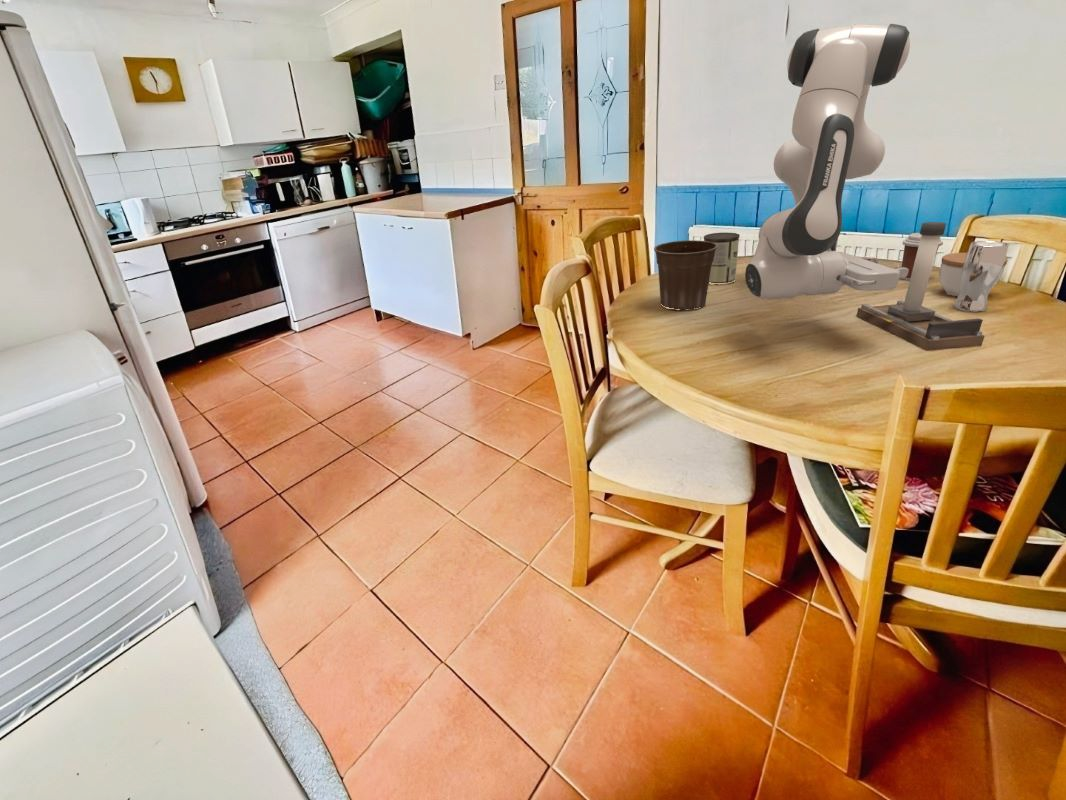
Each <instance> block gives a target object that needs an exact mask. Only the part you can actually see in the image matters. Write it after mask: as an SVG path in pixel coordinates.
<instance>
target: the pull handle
mask: <svg viewBox="0 0 1066 800" xmlns="http://www.w3.org/2000/svg"><path fill="white" fill-rule="evenodd" d="M946 227H947V223H946V222H940V221H929V222H927V221H925V222H923V223H921V227H920V231H919V233H920V234H921V239H920V243H919V247H918V251H917V255H916V259H915V263H914V267H913V270H912V274H911V278H910V280H909V282H908V287H907V291H906V294H905V299H904V305H896V306H889V308H888V312H887V313H888V314H890V315H892V316H894V317H897V318H899V319H901V320H903V321H906V322H911V321H921V320H931V319H933V318H934V315H935V314H936V311H935V310H933V309H930V308H928V307H925V306H924V305H923V302H924V299H925V294H926V290H927V288H928V284H929V279H930V276H931V274H932V270H933V266H934V263H935V262H934V261H935V258H936V256H935V255H937V253H936V251H937V252H938V250H937V248H938V244H939V240H940V239H941V237H942V235H944V234H945V230H946ZM938 249H939V248H938ZM922 305H923V306H922Z"/></svg>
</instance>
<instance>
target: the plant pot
mask: <svg viewBox="0 0 1066 800" xmlns="http://www.w3.org/2000/svg"><path fill="white" fill-rule="evenodd" d="M717 247H718V245H717V244H716V243H713V242H708V241H704V240H696V239H695V240H694V239H693V240H692V239H691V240H686V239H685V240H676V241H675V240H674V241H667V242H664V243H660V244H657V245H656V246H654V248H653V251H654V252H655V256H656V257H655V258H656V264H657V269H658V270H657V271H658V282H659V297H660V298H659V301H660V305H661V304H662V305H663V306H665V307H669V308H674V309H681V310H685V309H694V308H699V307H701V308H703V307H705V306H706V303H707V297H708V290H709V278H710V271H711V265H712V262H713V261H714V255H715V250H716V249H717ZM702 306H703V307H702ZM699 309H700V308H699Z"/></svg>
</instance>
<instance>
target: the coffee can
mask: <svg viewBox="0 0 1066 800" xmlns="http://www.w3.org/2000/svg"><path fill="white" fill-rule="evenodd" d="M703 241H708V242H713V243H716V244H717V245H718V247H717V249H716V250H715V255H714V261H713V262H712V265H711V271H710V278H709V282H711V283H728V282H732V281H734V280H735V281H736V273H737V263H738V252H739V241H740V234H738V233H735V232H712V233H708V234H705V235H704V236H703Z"/></svg>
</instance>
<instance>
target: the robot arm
mask: <svg viewBox="0 0 1066 800" xmlns="http://www.w3.org/2000/svg"><path fill="white" fill-rule="evenodd" d="M910 48H911V39H910V31H909V30H908V28H907V26H905V25H902V24H901V25H900V24H897V23H890V24H889V25H887V24H872V23H868V24H867V23H866V24H865V23H861V24H860V23H859V24H857V23H856V24H854V25H845V26H836V27H835V26H834V27H830V28H824V29H820V28H815V29H810V30H808V31H805V32H803V33H802V34H801V35H800V36H799V37H797V39H796V40H795V43H794V45H793V47H792V48H791V50H790V52H789V55H788V59H787V68H786V69H787V78H788V81H789V82H790V83H791V84H792V85H793V86H795V87H798V88H801V89H800V92H799V96H798V99H797V102H796V105H795V108H794V113H793V117H792V124H791V125H792V127H791V134H792V136H793V138H794V139H793V140H790V141H787V142H784V143H783V144H782V145H781V146H780V147H779V149H778V150H777V152H776V153H775V155H774V158H773V172H774V173H775V175H776V177H777V178H778V179H779V180H780V181H781V182H783V183H784V185H786V187H787V188H788V189H789V190H790V192H791V194H792V195H793V199H794V204H795V205H794V207H790V208H788V209H784V210H782V211H778V212H777V213H774V214H772V215H770V216H769V217H767V218H766V219H765V220H764V221H763V223H762V225H761V226H760V228H759V232H758V243H757V246H756V250H755V251H754V254H753V256H752V259H751V260H750V261H749V262H748V264H747V265H746V268H745V273H744V274H745V275H744V276H745V277H744V279H745V284H746V286H747V289H749V291H750V293H751V294H752V295H753V296H755V297H757V298H760V299H769V300H770V299H774V300H775V299H789V298H790V299H791V298H794V297H797V296H801V295H803V296H820V295H828V294H830V295H831V294H835V293H838V292H839V290H841V288H842V287H844V286H846V287H849V288H851V289H853V290H857V291H861V292H862V291H863V292H864V291H865V292H867V291H869V292H870V291H873V292H874V291H889V290H890V291H891V290H894V289H895V288H896V287H897V286H898V283H899V280H900V279H901V277H906V276H907V275H908V271H909V269H908V268H905V267H902V266H899V267H898V266H897V267H895V268H892V267H889V266H886V265H883V264H880V263H878V262H879V259H878V258H875V257H872V256H871V257H859V256H855V255H852V254H849V253H846V252H843V251H837V246H838V243H839V237H840V234H841V231H842V226H843V214H842V210H843V209H842V198H843V192H844V188H845V184H846V180H852V179H853V180H854V179H857V178H863V177H866V176H871V175H872V174H873V173H875V171H876V170H877V169H879V167H880V166H881V164H882V162H883V160H884V157H885V154H886V153H885V152H886V145H885V143H884V140H883V138H882V137H881V136H880V135H879V134H877V133H875V132H874V131H872V130H871V129H870V128H869V127H868V125H867V124H866V121H865V108H866V104H867V98H868V95H869V91H870V87H873V88H874V87H878V86H882V85H886V84H888V83H890V82H891V81H892V80H894V79H895V78H896V77H897V75H898V73H900V71H901V70H902V68H903V67H904V65H905V64H906V61H907V60H908V57H909V53H910Z"/></svg>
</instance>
